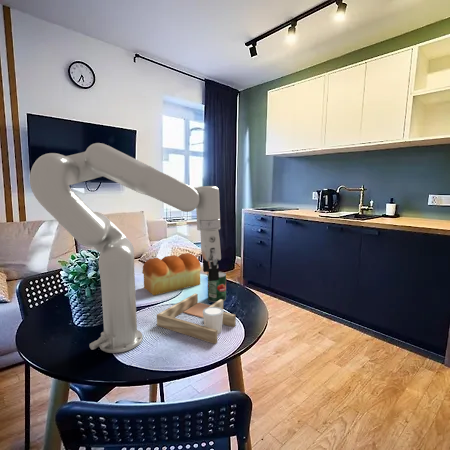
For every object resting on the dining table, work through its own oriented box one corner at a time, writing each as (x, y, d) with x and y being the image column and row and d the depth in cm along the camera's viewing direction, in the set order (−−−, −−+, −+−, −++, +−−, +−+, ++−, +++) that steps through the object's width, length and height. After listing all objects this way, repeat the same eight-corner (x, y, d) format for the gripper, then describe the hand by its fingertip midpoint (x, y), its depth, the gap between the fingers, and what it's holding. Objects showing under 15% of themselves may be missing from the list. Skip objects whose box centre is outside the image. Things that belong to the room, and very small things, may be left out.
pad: (205, 318, 103) (205, 317, 103) (183, 312, 108) (183, 311, 108) (219, 308, 112) (219, 307, 112) (198, 303, 117) (198, 302, 117)
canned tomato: (208, 295, 126) (208, 271, 124) (226, 295, 125) (226, 271, 124) (206, 302, 118) (206, 276, 117) (225, 302, 118) (225, 277, 116)
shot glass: (223, 336, 91) (223, 315, 90) (201, 335, 91) (201, 315, 90) (223, 325, 98) (223, 306, 97) (203, 325, 98) (203, 306, 97)
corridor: (215, 344, 86) (215, 331, 86) (157, 325, 98) (156, 314, 97) (247, 315, 106) (247, 305, 105) (195, 302, 118) (195, 293, 117)
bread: (189, 278, 150) (188, 250, 148) (201, 284, 140) (201, 255, 138) (143, 288, 135) (141, 257, 133) (153, 296, 125) (151, 263, 123)
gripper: (226, 227, 84) (228, 282, 86) (214, 220, 101) (216, 267, 103) (201, 229, 82) (204, 285, 85) (193, 222, 99) (195, 269, 101)
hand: (210, 275), depth 94 cm, fingers open, 9 cm apart
